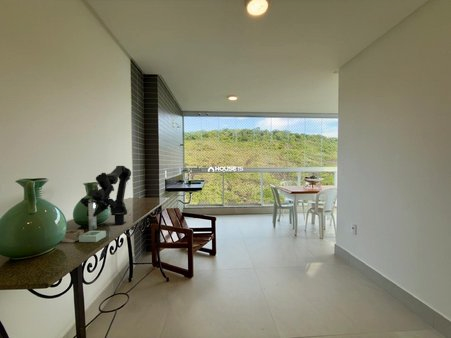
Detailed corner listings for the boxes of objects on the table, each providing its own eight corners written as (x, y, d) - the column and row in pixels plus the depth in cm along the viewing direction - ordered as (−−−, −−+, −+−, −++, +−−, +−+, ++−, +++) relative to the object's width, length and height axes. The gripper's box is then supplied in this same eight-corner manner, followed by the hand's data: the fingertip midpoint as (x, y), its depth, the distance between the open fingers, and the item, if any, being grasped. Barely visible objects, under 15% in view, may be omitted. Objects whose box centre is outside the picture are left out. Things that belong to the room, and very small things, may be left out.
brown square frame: (69, 236, 122) (69, 229, 122) (83, 236, 122) (83, 229, 122) (58, 242, 114) (58, 234, 114) (73, 242, 114) (73, 234, 114)
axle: (91, 227, 120) (91, 202, 120) (98, 227, 120) (97, 202, 120) (87, 229, 117) (86, 203, 116) (94, 229, 117) (93, 203, 116)
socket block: (90, 236, 123) (90, 230, 123) (105, 236, 123) (105, 230, 123) (78, 241, 114) (78, 236, 114) (96, 242, 114) (95, 236, 114)
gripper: (82, 183, 123) (65, 207, 113) (112, 184, 120) (98, 208, 110) (93, 195, 131) (78, 218, 121) (121, 196, 128) (109, 220, 118)
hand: (90, 216), depth 117 cm, fingers closed on axle, 4 cm apart
